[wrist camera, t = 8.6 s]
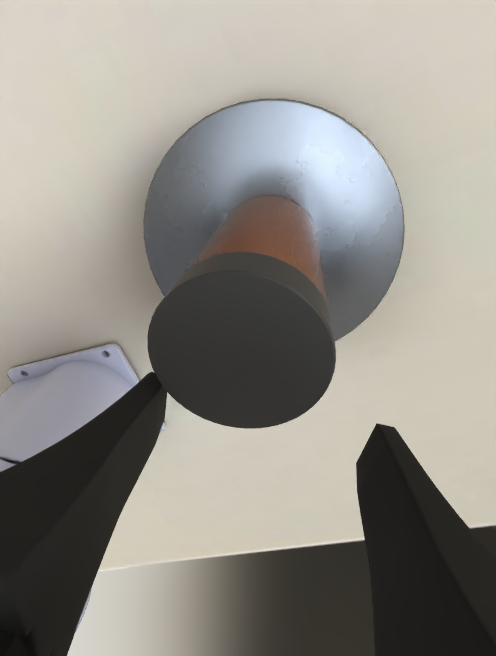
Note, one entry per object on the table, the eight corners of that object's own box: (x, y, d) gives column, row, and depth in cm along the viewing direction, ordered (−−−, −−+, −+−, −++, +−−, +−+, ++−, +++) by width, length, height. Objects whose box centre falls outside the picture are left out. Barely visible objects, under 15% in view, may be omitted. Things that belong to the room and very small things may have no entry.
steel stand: (211, 346, 24) (200, 374, 22) (124, 152, 19) (96, 159, 16) (405, 302, 21) (420, 329, 18) (367, 54, 16) (380, 43, 13)
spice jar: (236, 306, 19) (190, 439, 11) (199, 212, 17) (112, 300, 9) (332, 282, 18) (353, 415, 10) (305, 177, 16) (308, 245, 8)
